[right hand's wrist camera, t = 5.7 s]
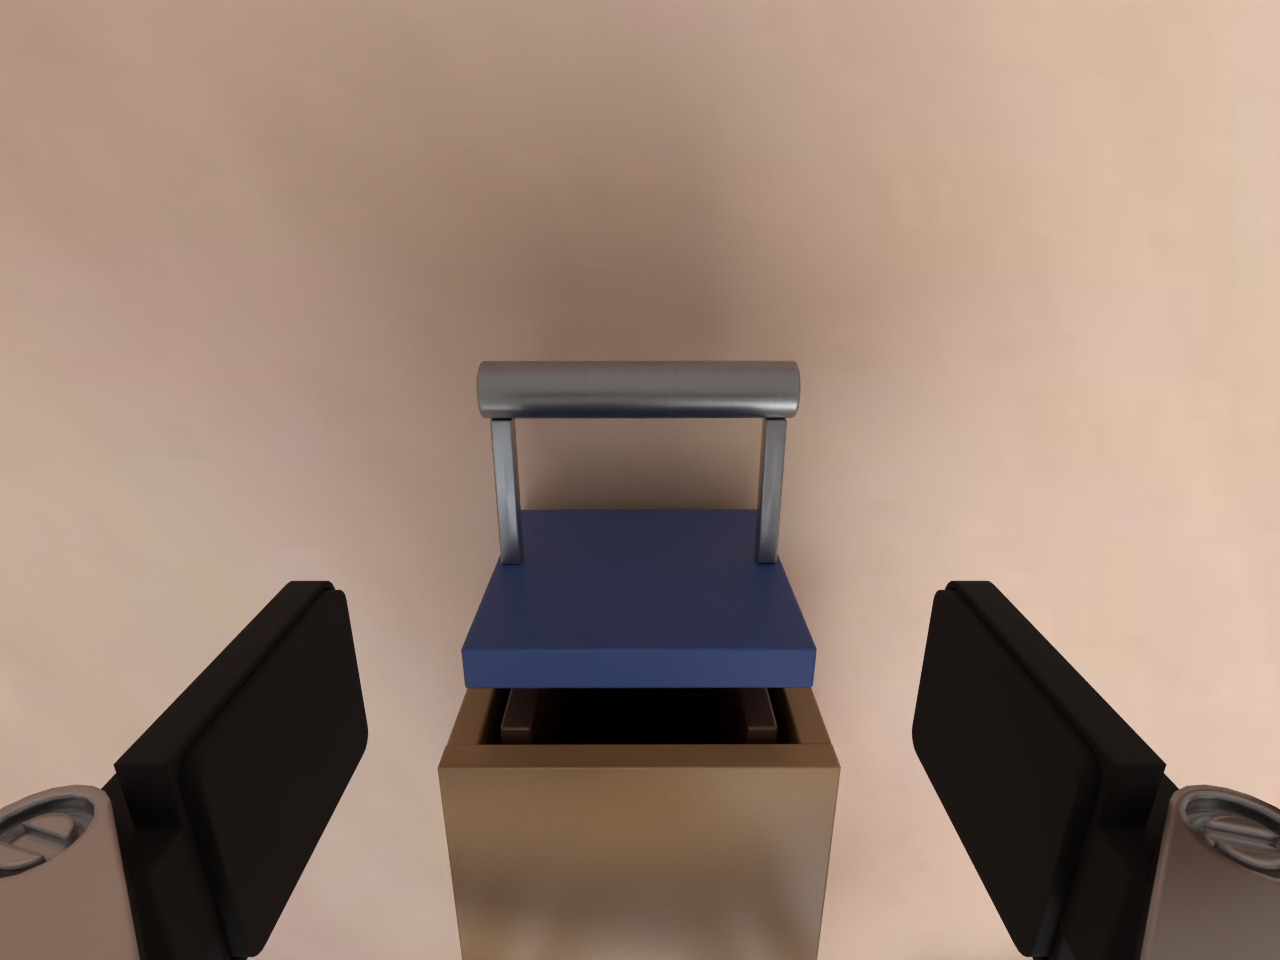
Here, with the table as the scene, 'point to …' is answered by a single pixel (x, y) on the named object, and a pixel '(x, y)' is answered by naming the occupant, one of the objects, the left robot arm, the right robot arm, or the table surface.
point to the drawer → (638, 573)
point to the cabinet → (639, 841)
